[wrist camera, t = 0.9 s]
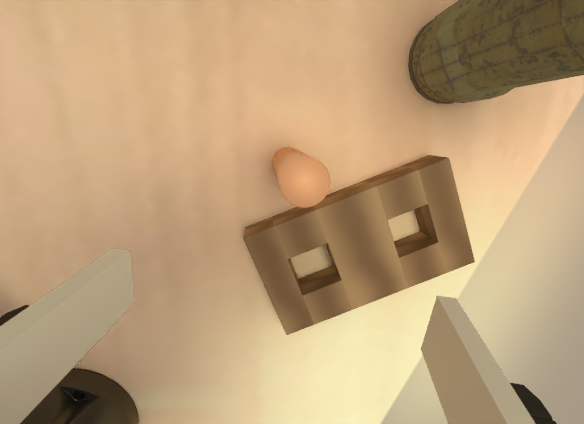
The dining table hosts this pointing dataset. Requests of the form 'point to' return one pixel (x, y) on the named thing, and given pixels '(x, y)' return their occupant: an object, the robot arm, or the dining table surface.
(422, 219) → the hole block
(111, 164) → the dining table surface
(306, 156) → the peg
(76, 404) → the robot arm
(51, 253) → the dining table surface
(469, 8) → the thermos
